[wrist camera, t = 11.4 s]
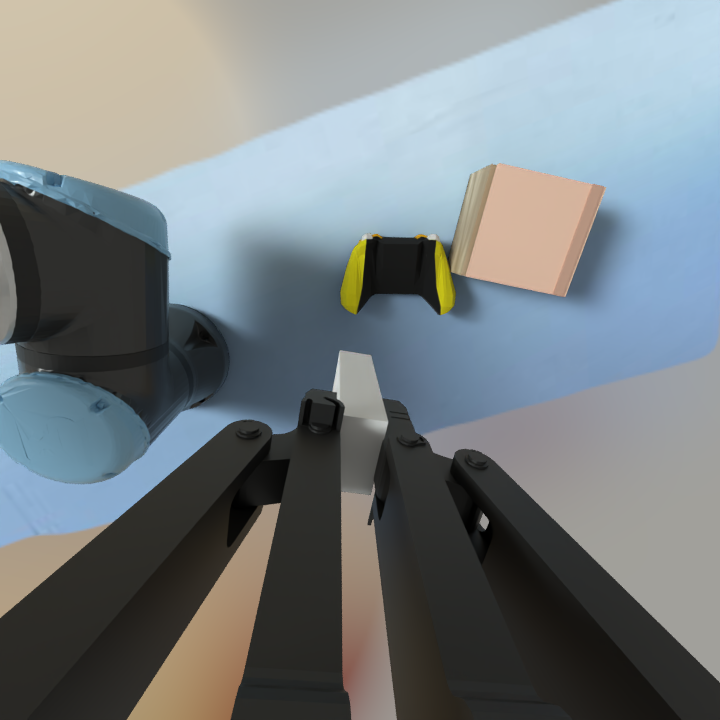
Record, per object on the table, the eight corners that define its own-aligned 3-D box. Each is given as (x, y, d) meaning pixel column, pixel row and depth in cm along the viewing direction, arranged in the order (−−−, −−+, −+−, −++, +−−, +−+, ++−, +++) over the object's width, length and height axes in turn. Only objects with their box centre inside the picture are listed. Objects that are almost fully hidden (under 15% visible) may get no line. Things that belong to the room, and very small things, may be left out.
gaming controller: (446, 309, 52) (452, 234, 48) (457, 317, 46) (466, 234, 43) (340, 308, 51) (340, 233, 48) (340, 316, 46) (339, 232, 42)
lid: (465, 276, 43) (467, 276, 42) (496, 164, 39) (500, 162, 38) (561, 296, 44) (566, 297, 43) (601, 188, 40) (607, 187, 39)
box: (445, 270, 50) (460, 275, 43) (470, 174, 46) (491, 164, 39) (526, 286, 51) (554, 294, 44) (557, 195, 47) (592, 188, 41)
